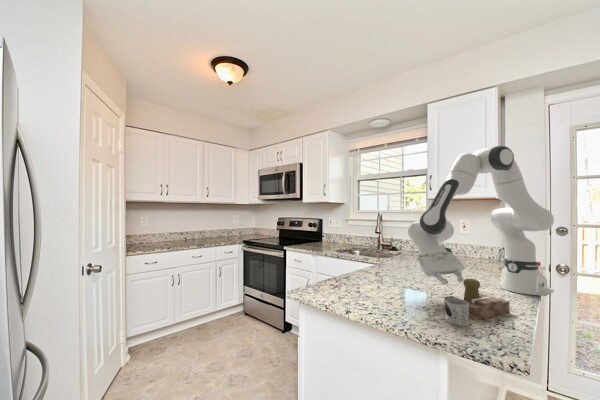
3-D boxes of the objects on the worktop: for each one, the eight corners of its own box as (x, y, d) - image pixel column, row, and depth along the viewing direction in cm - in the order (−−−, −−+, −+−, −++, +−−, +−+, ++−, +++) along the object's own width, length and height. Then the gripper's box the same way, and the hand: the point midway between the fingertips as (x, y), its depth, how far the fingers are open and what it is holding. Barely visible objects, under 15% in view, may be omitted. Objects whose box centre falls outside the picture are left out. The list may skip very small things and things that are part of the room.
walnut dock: (476, 302, 108) (476, 289, 108) (509, 313, 97) (509, 299, 97) (444, 307, 101) (444, 294, 101) (476, 320, 90) (476, 305, 90)
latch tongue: (488, 308, 99) (488, 296, 99) (491, 309, 98) (491, 297, 99) (471, 312, 96) (471, 299, 96) (474, 313, 95) (474, 300, 95)
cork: (484, 312, 97) (484, 281, 97) (466, 311, 98) (466, 280, 98) (477, 306, 103) (477, 277, 103) (459, 305, 104) (459, 276, 104)
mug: (444, 316, 92) (444, 297, 92) (466, 320, 90) (466, 300, 90) (447, 328, 83) (447, 306, 83) (472, 332, 80) (472, 310, 81)
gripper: (419, 250, 111) (440, 280, 101) (454, 248, 119) (476, 276, 109) (411, 259, 114) (430, 289, 105) (445, 257, 122) (465, 284, 113)
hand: (454, 282), depth 107 cm, fingers open, 8 cm apart
